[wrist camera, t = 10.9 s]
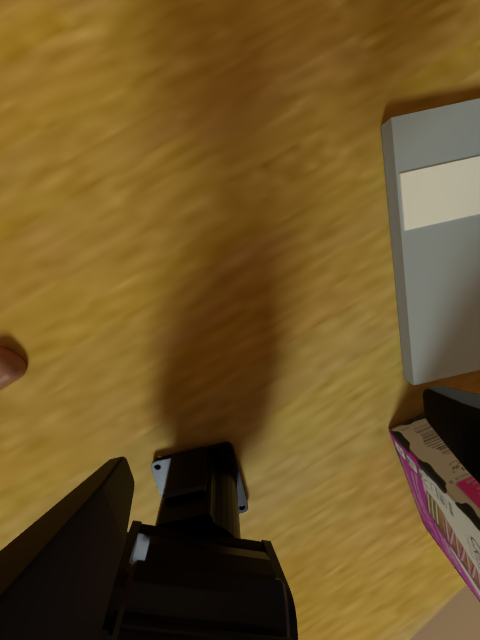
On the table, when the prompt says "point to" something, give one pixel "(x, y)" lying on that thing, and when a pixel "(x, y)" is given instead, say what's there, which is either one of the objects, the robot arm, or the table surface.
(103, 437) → the table surface
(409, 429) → the candy bar box
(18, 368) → the pizza slice
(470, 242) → the grey flat rectangular block
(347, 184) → the table surface
